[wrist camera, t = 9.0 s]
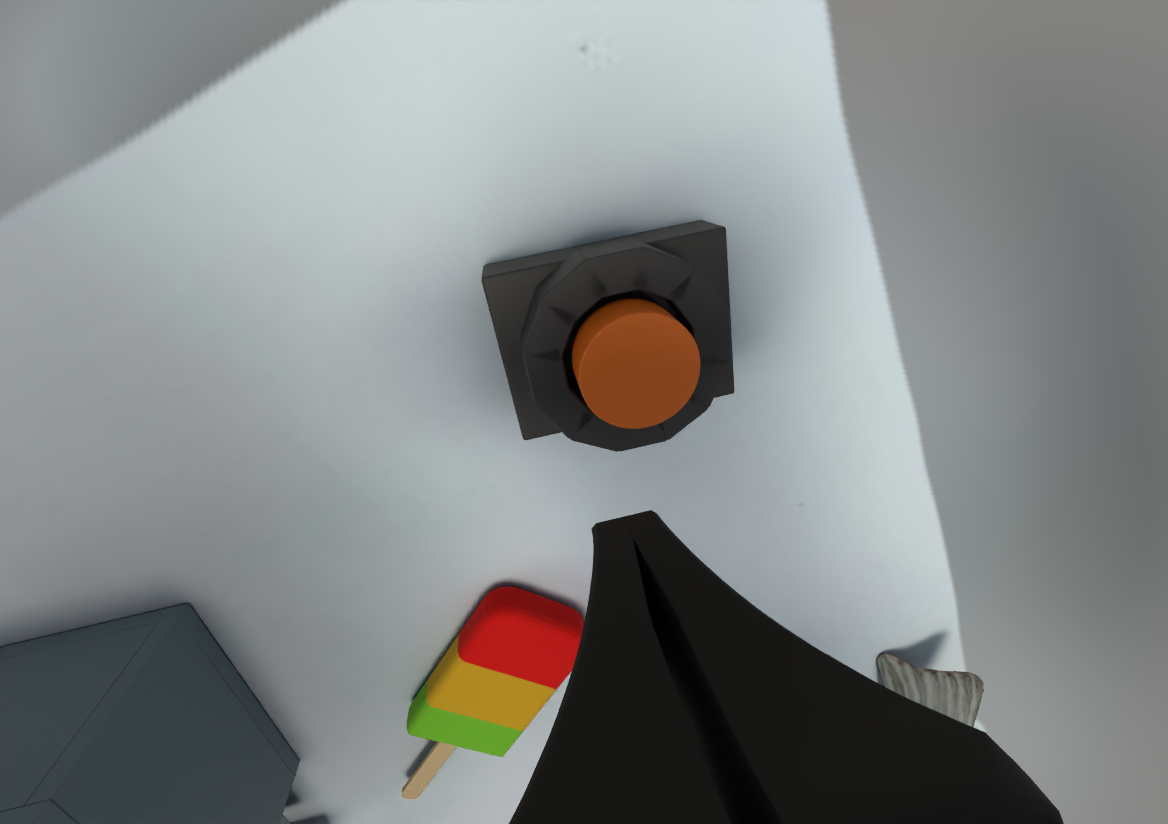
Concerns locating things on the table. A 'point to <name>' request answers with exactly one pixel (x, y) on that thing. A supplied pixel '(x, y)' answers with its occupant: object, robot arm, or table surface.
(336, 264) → the table surface
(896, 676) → the figurine
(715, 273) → the control block
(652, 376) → the button
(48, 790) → the drawer cabinet
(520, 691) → the popsicle
